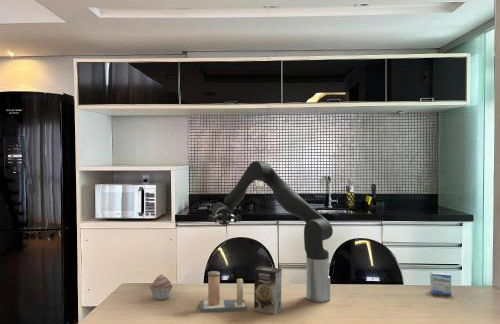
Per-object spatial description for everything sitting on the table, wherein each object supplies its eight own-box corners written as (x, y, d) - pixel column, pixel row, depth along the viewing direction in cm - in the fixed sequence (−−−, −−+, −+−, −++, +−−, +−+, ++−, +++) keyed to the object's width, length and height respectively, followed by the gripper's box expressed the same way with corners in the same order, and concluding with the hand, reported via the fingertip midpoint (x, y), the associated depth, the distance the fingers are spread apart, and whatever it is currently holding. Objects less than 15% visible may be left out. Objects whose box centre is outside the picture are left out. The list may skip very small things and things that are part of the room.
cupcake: (174, 300, 164) (174, 276, 164) (151, 303, 161) (151, 278, 161) (170, 293, 173) (170, 270, 173) (148, 296, 170) (148, 272, 170)
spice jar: (219, 301, 159) (219, 270, 159) (220, 305, 154) (220, 274, 154) (207, 302, 158) (207, 271, 159) (208, 306, 154) (208, 274, 154)
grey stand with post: (244, 302, 162) (244, 274, 162) (246, 310, 153) (246, 281, 153) (199, 304, 160) (199, 276, 160) (199, 312, 151) (199, 282, 151)
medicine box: (431, 293, 174) (431, 273, 174) (430, 290, 178) (430, 271, 178) (451, 295, 172) (451, 275, 172) (449, 292, 176) (449, 272, 176)
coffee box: (253, 311, 153) (253, 268, 153) (260, 305, 158) (260, 265, 158) (275, 315, 148) (275, 271, 148) (281, 309, 154) (282, 268, 154)
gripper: (208, 207, 188) (209, 211, 172) (238, 207, 190) (242, 211, 173) (208, 223, 188) (209, 229, 172) (238, 223, 190) (242, 228, 173)
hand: (225, 220), depth 173 cm, fingers open, 8 cm apart
